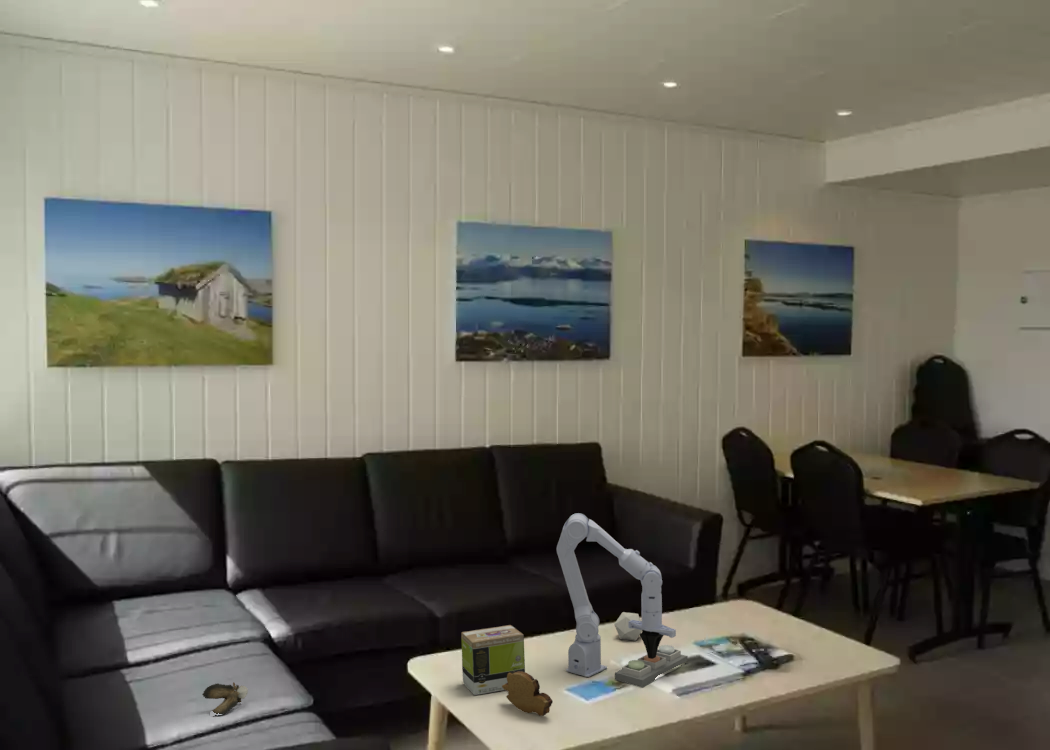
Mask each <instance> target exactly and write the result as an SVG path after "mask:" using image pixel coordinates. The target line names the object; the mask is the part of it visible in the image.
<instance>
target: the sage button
mask: <svg viewBox="0 0 1050 750" xmlns="http://www.w3.org/2000/svg"><path fill="white" fill-rule="evenodd" d="M627 664H628V668H629V669H633V670H637V671H640V670H642V669H644V662H643V661H640V660H638V659H634V660H630V661H628V663H627Z"/></svg>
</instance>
